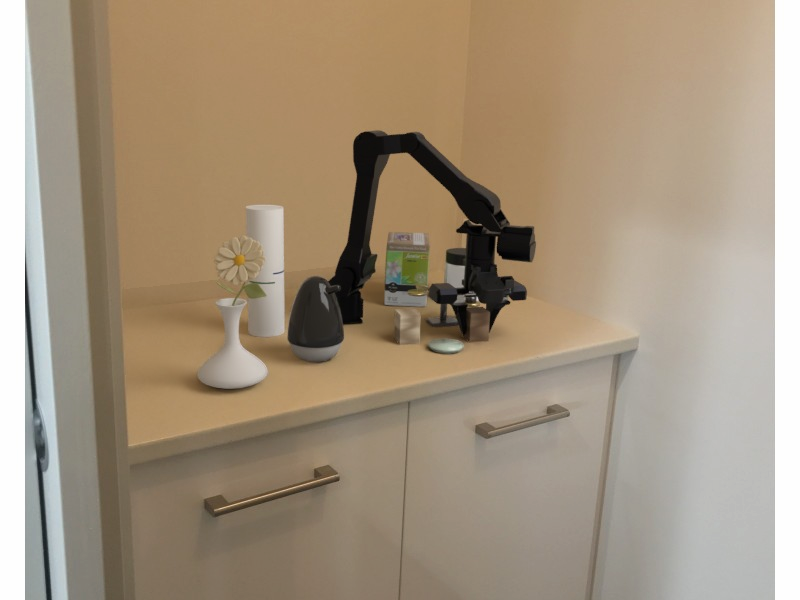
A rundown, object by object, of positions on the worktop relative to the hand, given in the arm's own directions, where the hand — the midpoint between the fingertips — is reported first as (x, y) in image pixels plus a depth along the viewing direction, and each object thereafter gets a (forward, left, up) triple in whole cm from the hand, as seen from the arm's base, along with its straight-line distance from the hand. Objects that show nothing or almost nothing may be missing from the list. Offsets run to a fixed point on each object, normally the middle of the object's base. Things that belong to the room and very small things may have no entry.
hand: (475, 333), depth 155 cm
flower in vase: (-48, -15, -1) cm, 50 cm away
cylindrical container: (-40, +12, -1) cm, 42 cm away
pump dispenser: (-33, -5, -1) cm, 33 cm away
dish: (-8, -5, -1) cm, 9 cm away
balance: (-3, +11, -1) cm, 11 cm away
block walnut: (0, 0, -1) cm, 1 cm away
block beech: (-14, +1, -1) cm, 14 cm away
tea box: (-5, +32, -1) cm, 32 cm away
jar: (+7, +27, -1) cm, 28 cm away
